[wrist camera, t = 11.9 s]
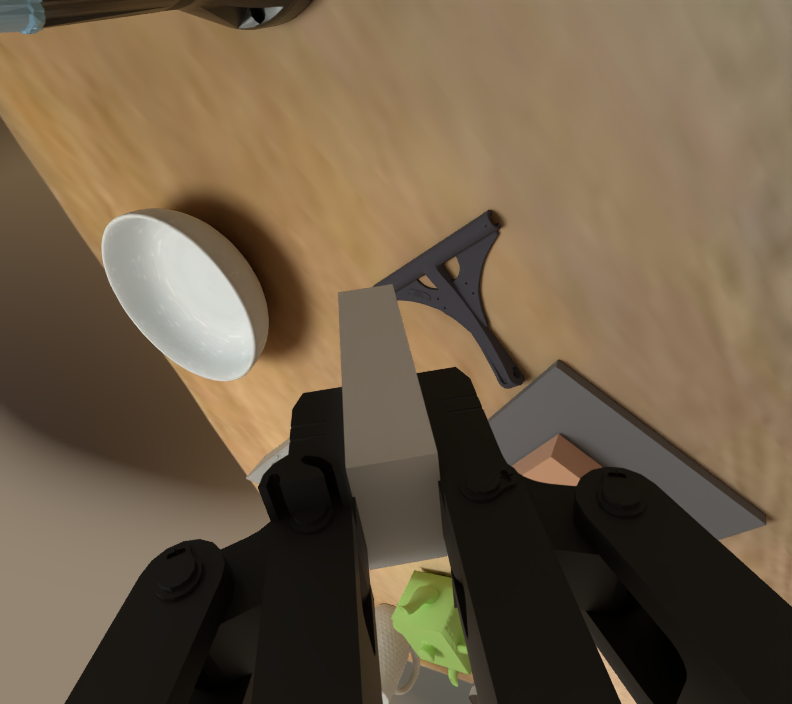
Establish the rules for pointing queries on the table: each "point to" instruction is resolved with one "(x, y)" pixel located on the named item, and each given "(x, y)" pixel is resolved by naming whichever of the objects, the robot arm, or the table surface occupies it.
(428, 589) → the teapot
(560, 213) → the table surface
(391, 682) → the mug
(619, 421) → the mat
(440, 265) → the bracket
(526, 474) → the tile
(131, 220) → the serving bowl
